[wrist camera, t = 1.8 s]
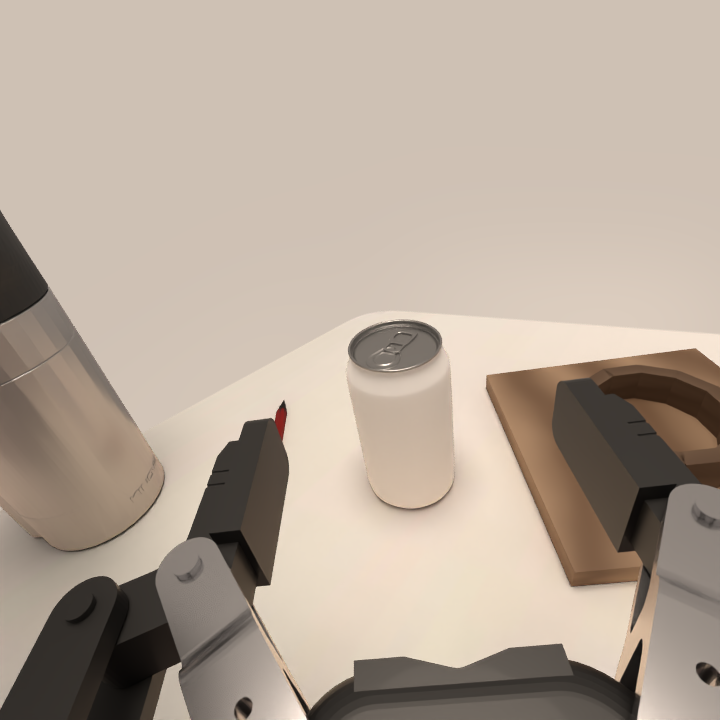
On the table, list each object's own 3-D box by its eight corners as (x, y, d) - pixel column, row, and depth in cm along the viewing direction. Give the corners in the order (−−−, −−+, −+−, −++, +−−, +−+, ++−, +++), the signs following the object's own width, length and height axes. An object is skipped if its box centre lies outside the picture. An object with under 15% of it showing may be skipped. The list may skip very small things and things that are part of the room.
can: (353, 492, 31) (319, 362, 24) (393, 435, 35) (374, 310, 28) (434, 526, 27) (421, 386, 21) (467, 458, 32) (465, 323, 25)
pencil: (289, 402, 41) (286, 395, 41) (269, 526, 30) (265, 518, 29) (281, 404, 41) (278, 396, 41) (258, 528, 30) (253, 520, 29)
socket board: (571, 586, 23) (581, 546, 21) (486, 388, 38) (487, 352, 36) (920, 555, 22) (972, 509, 19) (690, 362, 37) (704, 323, 34)
